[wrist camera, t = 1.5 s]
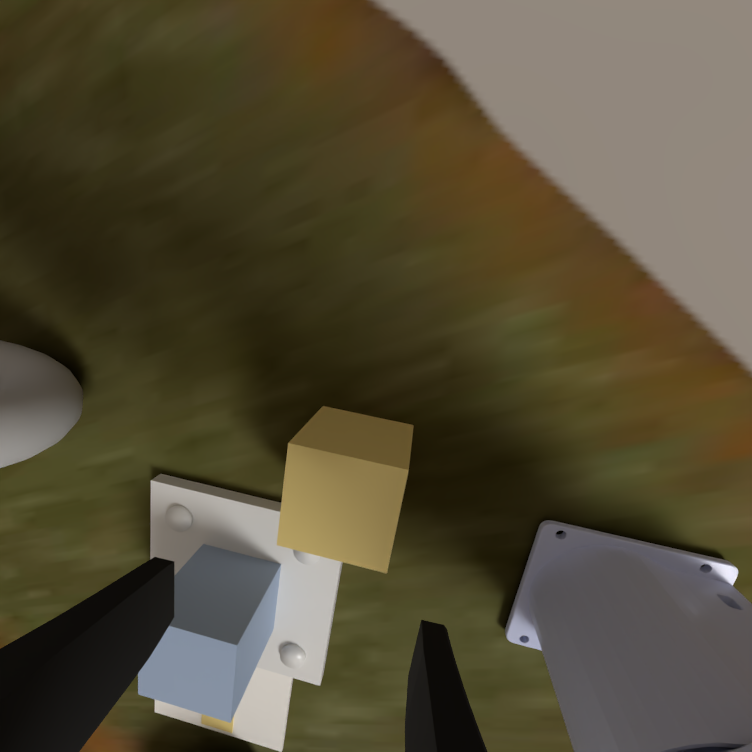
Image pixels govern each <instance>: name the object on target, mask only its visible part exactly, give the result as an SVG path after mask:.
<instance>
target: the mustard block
mask: <svg viewBox="0 0 752 752" xmlns="http://www.w3.org/2000/svg"><path fill="white" fill-rule="evenodd" d="M413 428H414V425H411V424H406V423H401V422H397V421H392V420H387V419H382V418H378V417H373V416H368V415H364V414H359V413H354V412H349V411H345V410H340V409H335V408H330V407H326V406H322V407H321V409H320V410H319V411H318V412H317V413H316V414H315V415H314V416H313V417H312V418H311V419H310V420H309V421H308V422H307V423H306V425H305V426H304V427H303V428H302V429H301V430H300V431H299V432H298V433H297V434H296V435H295V436H294V437H293V438H292V439H291V440H290V442H289V443H288V449H287V458H286V467H285V475H284V484H283V493H282V502H281V510H280V519H279V528H278V536H277V545H278V546H282V547H286V548H290V549H293V550H297V551H301V552H305V553H309V554H313V555H317V556H321V557H325V558H329V559H332V560H336V561H340V562H344V563H348V564H352V565H356V566H360V567H364V568H367V569H371V570H375V571H379V572H383V573H387V570H388V565H389V561H390V556H391V551H392V547H393V542H394V537H395V533H396V528H397V523H398V519H399V514H400V509H401V504H402V500H403V495H404V490H405V486H406V481H407V476H408V472H409V464H410V455H411V446H412V437H413Z"/></svg>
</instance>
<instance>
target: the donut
mask: <svg viewBox="0 0 752 752" xmlns="http://www.w3.org/2000/svg"><path fill="white" fill-rule="evenodd" d="M82 405H83V389H82V388H81V386H80V384H79V382H78V381H77V380H76V378H75V377H74V375H73V374H72V373H71V371H70V370H69V369H68V368H66V367H65V366H64V365H62V364H61V363H59V362H57V361H56V360H54V359H53V358H51V357H49V356H48V355H46V354H44V353H41V352H38V351H35V350H33V349H30V348H27V347H24V346H22V345H18V344H14V343H9V342H5V341H1V340H0V468H2V467H5V466H8V465H11V464H14V463H17V462H20V461H23V460H26V459H28V458H31V457H33V456H34V455H36V454H38V453H40V452H42V451H43V450H45V449H47V448H49V447H50V446H52V445H54V444H56V443H58V442H59V441H60V440H61V439H62V438H63V437H64V436H65V435H66V434H67V433H68V432H69V430H70V429H71V428H72V427H73V426H74V425H75V424H76V423H77V421H78V420H79V418H80V416H81V413H82Z"/></svg>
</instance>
